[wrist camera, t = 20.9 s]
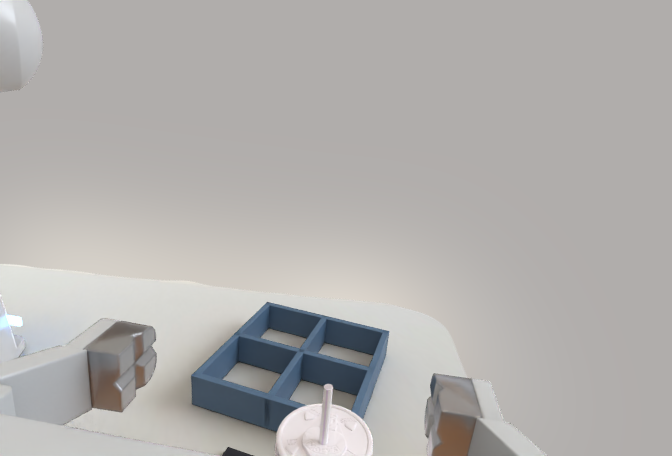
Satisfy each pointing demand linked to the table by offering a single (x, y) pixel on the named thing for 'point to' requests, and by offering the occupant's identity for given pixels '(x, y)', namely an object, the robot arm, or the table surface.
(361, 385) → the blue compartment grid
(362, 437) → the smoothie
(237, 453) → the mat
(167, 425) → the table surface
